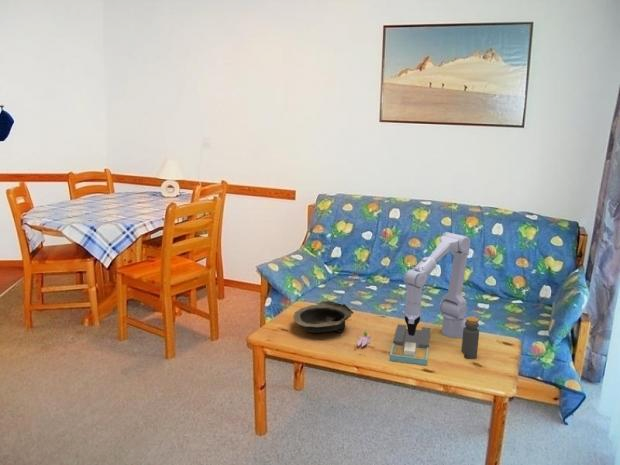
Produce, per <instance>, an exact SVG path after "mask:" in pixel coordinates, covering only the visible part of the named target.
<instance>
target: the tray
mask: <svg viewBox="0 0 620 465" xmlns="http://www.w3.org/2000/svg"><path fill="white" fill-rule="evenodd" d="M391 345H392V346H391V350H390V353H389V362H395V363H401V364H410V365H417V366H426V367H427V366H428V356H429V349H430V347H429V348H428V347H427V349H426V354H425V358H423V357H416V356H415V357H408V356H404V355H400V354H399V355H398V354H393V353H394V349H395V346H396V345H395V343H392V344H391Z"/></svg>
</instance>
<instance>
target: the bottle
mask: <svg viewBox="0 0 620 465" xmlns="http://www.w3.org/2000/svg"><path fill="white" fill-rule="evenodd" d="M465 318H466V322H465V326H466V327H465V328H464V329H463V338H461V339H462V340H461V353H462V354H463V357H464V358H466V359H471V360H474V359H476V358H477V357H478V351H479V336H480V329H479V327H480V324H479V320H480V319H479V318H478V317H476V316H467V317H465Z"/></svg>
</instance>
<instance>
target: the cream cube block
mask: <svg viewBox="0 0 620 465" xmlns="http://www.w3.org/2000/svg"><path fill="white" fill-rule="evenodd" d="M405 346H409V347H416V343H411V342H405ZM405 346H404V347H405ZM415 352H416V350H415Z"/></svg>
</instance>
